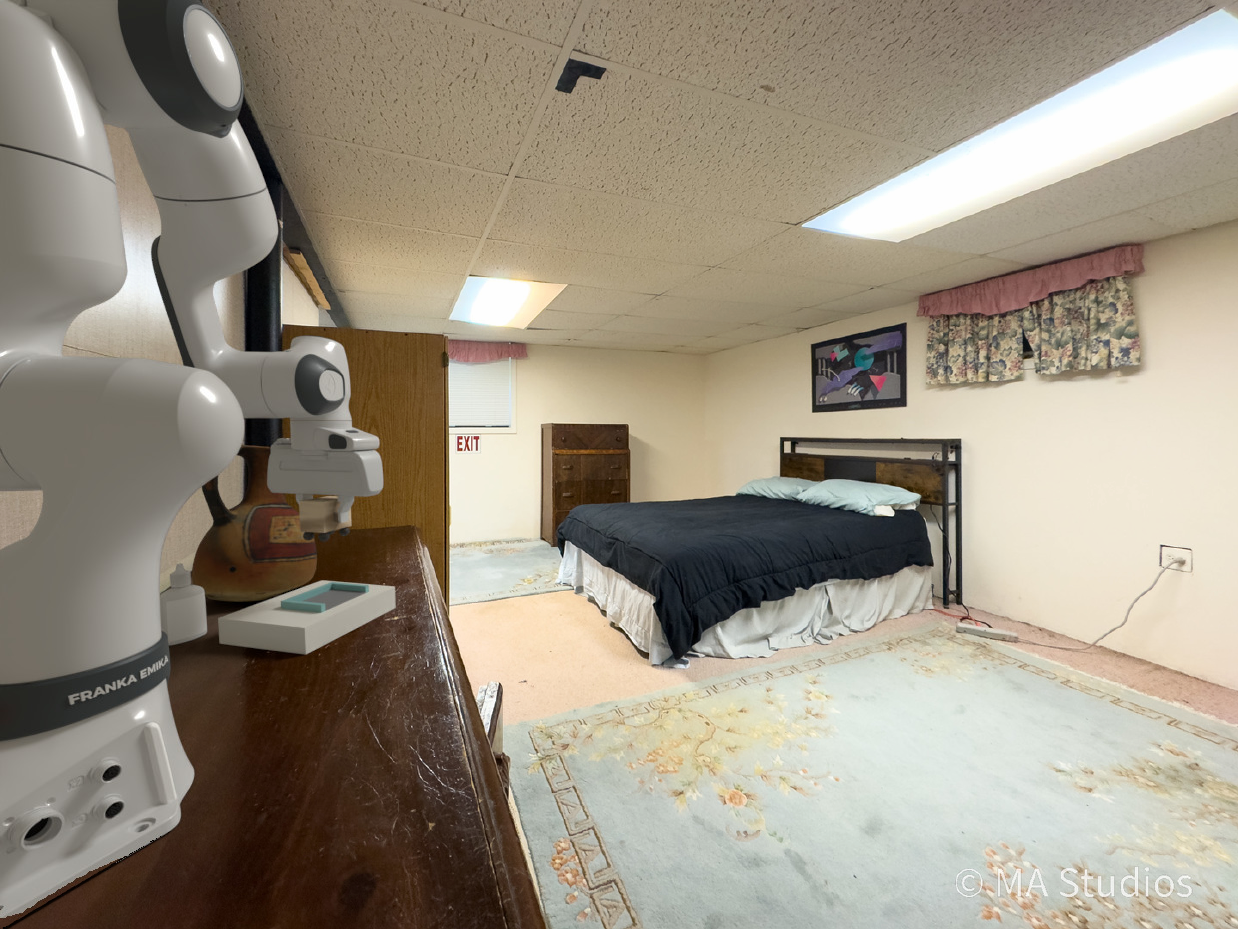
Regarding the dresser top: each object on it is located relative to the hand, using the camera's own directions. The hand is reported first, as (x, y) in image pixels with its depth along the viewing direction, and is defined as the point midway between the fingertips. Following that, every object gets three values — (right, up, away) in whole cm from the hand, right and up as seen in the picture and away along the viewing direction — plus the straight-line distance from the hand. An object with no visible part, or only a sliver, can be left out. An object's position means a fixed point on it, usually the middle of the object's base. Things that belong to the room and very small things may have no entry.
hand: (326, 521), depth 86 cm
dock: (-2, -18, +1) cm, 18 cm away
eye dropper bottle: (-19, -18, -5) cm, 27 cm away
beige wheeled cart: (0, -3, 0) cm, 3 cm away
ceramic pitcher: (-22, -17, +16) cm, 32 cm away
